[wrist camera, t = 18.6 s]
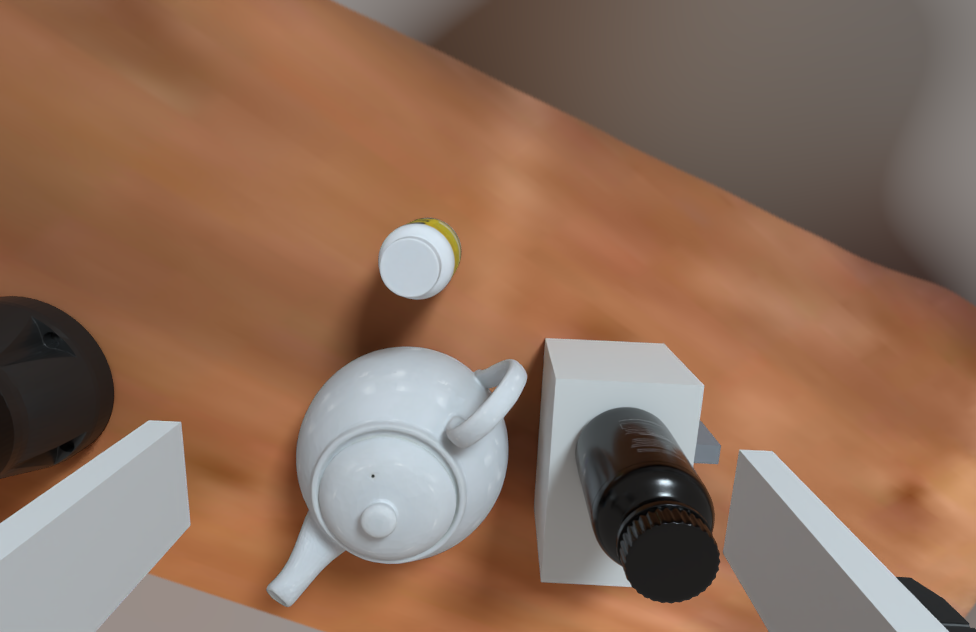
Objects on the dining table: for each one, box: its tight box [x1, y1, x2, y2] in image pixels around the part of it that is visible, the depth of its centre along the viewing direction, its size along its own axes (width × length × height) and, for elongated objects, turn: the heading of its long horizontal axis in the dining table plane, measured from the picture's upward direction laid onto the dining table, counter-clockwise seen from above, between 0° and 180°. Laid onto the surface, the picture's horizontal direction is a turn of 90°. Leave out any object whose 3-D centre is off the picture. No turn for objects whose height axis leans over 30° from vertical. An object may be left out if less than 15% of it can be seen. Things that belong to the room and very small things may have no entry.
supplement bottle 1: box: [378, 218, 461, 300], centre depth 42 cm, size 5×5×10 cm
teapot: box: [266, 347, 527, 607], centre depth 44 cm, size 19×18×14 cm
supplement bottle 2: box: [575, 407, 720, 603], centre depth 34 cm, size 7×7×12 cm
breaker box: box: [534, 338, 721, 587], centre depth 46 cm, size 13×16×10 cm
